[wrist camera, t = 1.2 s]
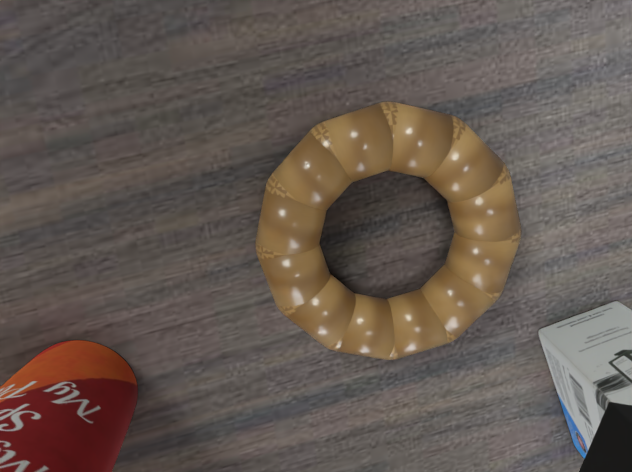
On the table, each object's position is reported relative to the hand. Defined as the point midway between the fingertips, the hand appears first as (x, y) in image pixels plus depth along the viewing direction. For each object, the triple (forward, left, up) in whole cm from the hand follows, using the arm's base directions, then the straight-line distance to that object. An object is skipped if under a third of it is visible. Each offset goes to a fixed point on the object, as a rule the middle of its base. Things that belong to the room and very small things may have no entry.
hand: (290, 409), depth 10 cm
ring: (0, +5, -14) cm, 15 cm away
